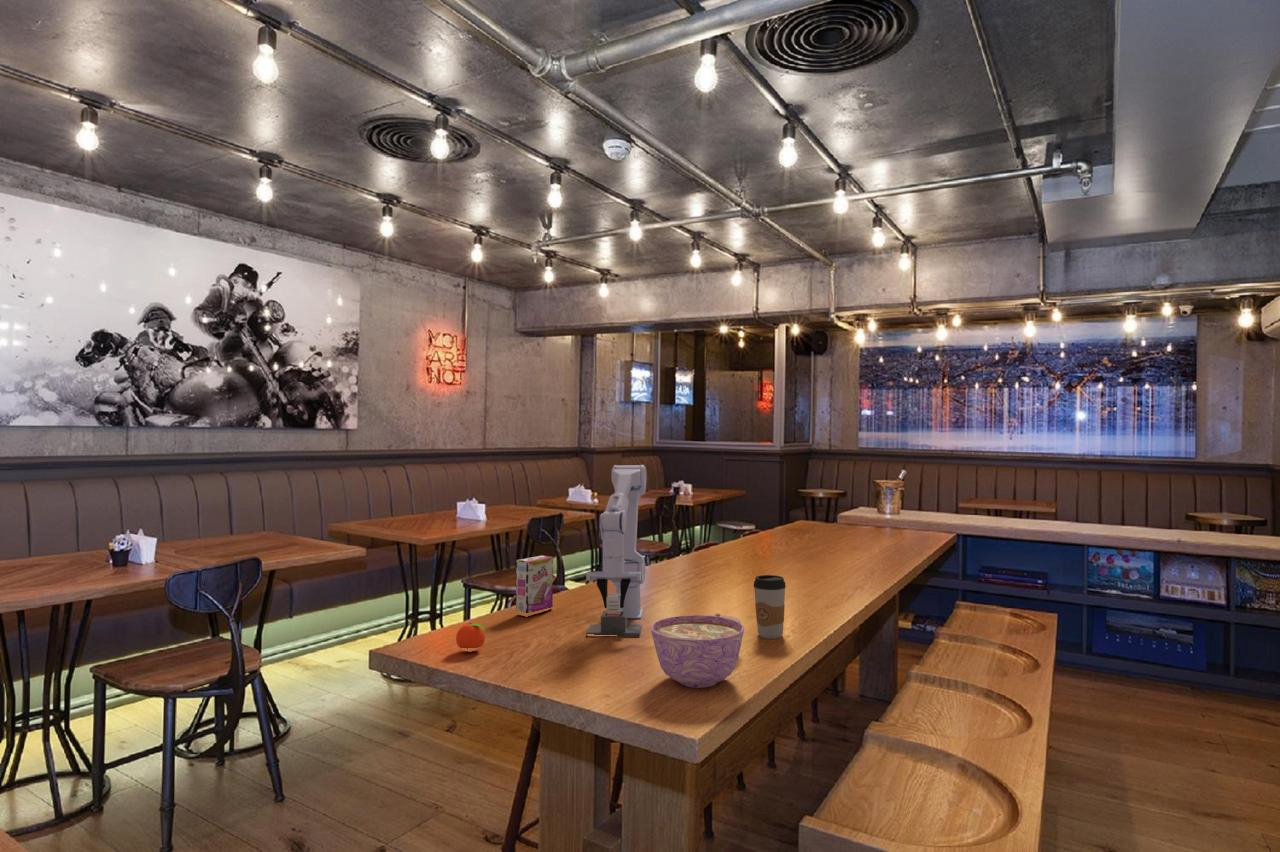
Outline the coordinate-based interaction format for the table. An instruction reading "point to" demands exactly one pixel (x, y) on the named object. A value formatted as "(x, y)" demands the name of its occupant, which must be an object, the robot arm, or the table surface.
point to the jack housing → (615, 626)
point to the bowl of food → (697, 648)
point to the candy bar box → (534, 584)
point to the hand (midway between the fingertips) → (614, 607)
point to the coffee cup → (769, 605)
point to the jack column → (614, 604)
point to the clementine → (470, 636)
